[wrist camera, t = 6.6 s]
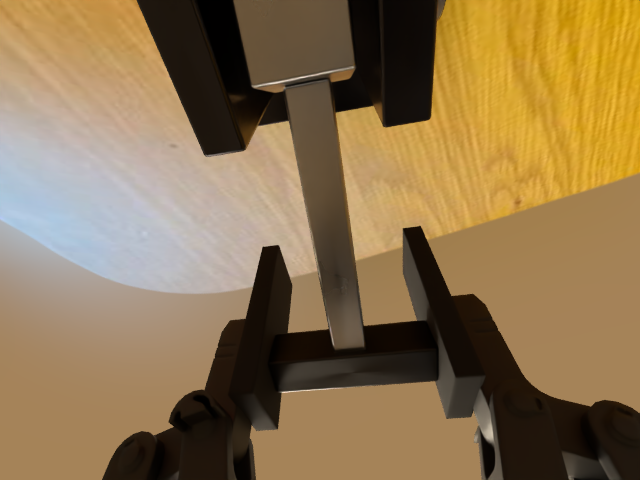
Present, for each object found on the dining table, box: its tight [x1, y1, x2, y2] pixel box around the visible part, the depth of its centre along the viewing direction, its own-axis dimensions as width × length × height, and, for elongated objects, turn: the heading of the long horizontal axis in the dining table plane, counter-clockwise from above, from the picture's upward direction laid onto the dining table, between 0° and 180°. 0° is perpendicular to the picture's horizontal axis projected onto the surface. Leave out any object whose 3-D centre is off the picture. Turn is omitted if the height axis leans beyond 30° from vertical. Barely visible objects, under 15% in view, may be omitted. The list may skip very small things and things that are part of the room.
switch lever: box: [230, 0, 438, 393], centre depth 8 cm, size 12×6×2 cm, turn 10°
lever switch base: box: [137, 0, 446, 157], centre depth 11 cm, size 11×9×14 cm
